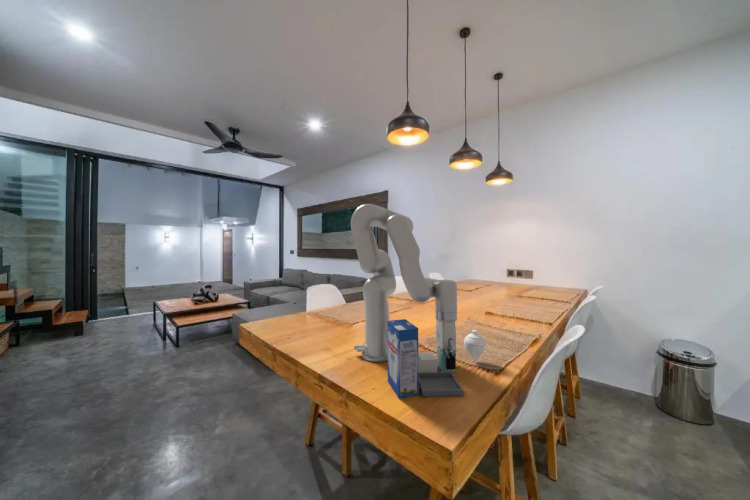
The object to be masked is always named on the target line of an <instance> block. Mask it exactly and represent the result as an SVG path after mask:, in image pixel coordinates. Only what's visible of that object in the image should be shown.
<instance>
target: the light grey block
mask: <svg viewBox="0 0 750 500" xmlns="http://www.w3.org/2000/svg"><path fill="white" fill-rule="evenodd" d="M418 369H419V373H429V372H441V371H440V369H439V367H438V366H437V356H436V355H435V354H434V352H418Z"/></svg>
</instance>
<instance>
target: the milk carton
mask: <svg viewBox="0 0 750 500" xmlns="http://www.w3.org/2000/svg"><path fill="white" fill-rule="evenodd" d="M387 348H388V360H387V384H388V385H389V386H390V388H391V389H392V390H393V392H394V394H395V396H397V398H398V399H399V400H401V399H406V398H412V397H416V396H419V394H420V393H419V391H420V388H419V369H418V353H419V328H418V327H417V326H415V324H413V323H412V322H410V321H408V320H407V318H403V319H393V320H389V321H387Z"/></svg>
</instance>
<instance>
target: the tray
mask: <svg viewBox="0 0 750 500" xmlns="http://www.w3.org/2000/svg"><path fill="white" fill-rule="evenodd" d="M419 391H420V393H421V396H422V398H440V397H441V398H443V397H444V398H446V397H447V398H449V397H464V396H465V394H464V392H465V390H464V388H463V386H462V385H461V384H460V382H459V381H458V379H457V377H456V376H455V375H454V372H441V371H440V372H438V371H437V372H429V373H419Z"/></svg>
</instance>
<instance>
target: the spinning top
mask: <svg viewBox="0 0 750 500" xmlns="http://www.w3.org/2000/svg"><path fill="white" fill-rule="evenodd" d="M471 332H472V333H469V334H467V335H466V336H465V337H464V339H463V343H464V347H465V350H466V352H468V354H469V356H470V357H471V359H472V360H473V362H474V363H476V360H478V359H479V358H480V357H481V355H482V354H483V353H484V351H485V349H486V348H487V347H486V346H487V344H486V343H487V342H486V339H485V338H484V337H483V336H482V335H480V334H479V333H478V332H479V331H478V330H477V329H476V330H475V329H472V330H471Z"/></svg>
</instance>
